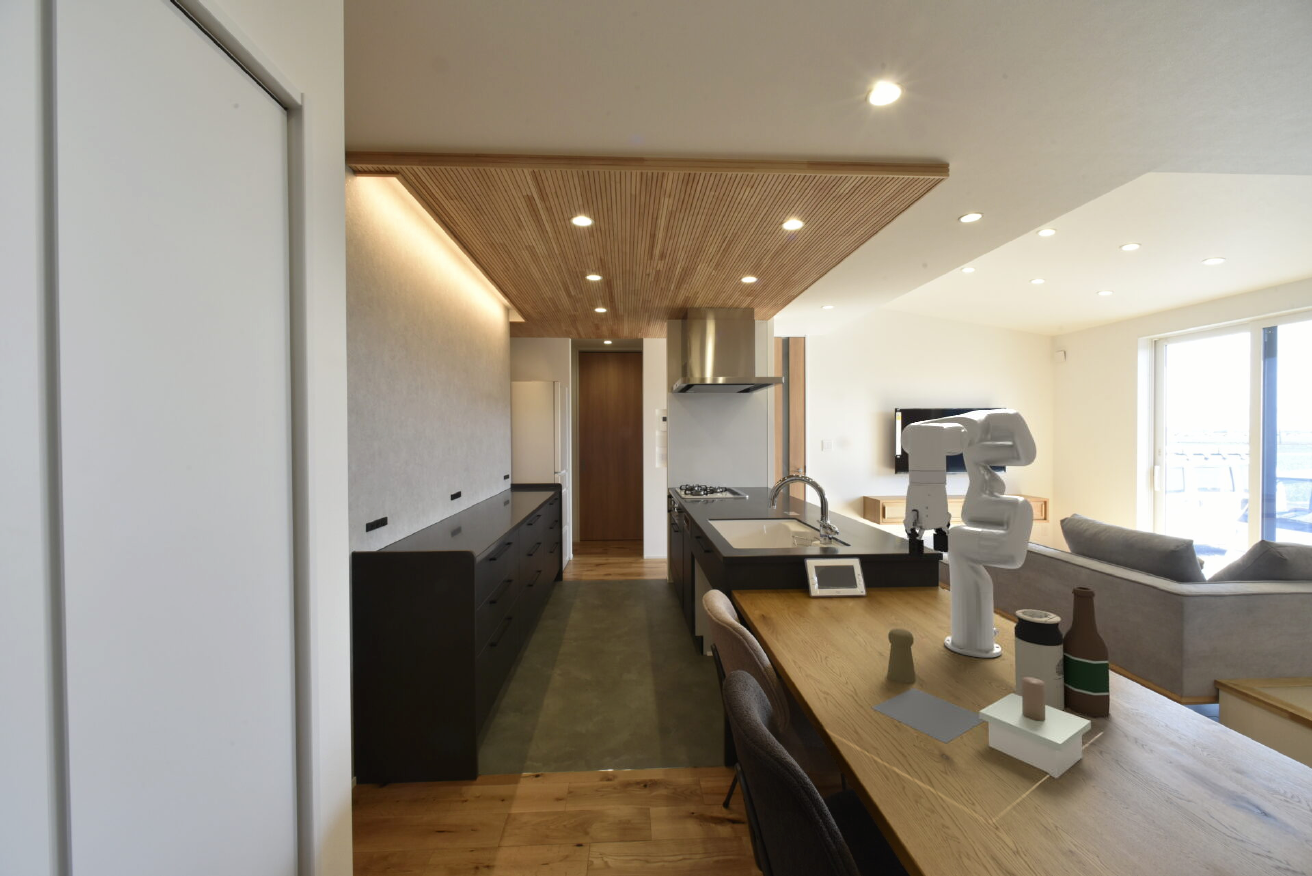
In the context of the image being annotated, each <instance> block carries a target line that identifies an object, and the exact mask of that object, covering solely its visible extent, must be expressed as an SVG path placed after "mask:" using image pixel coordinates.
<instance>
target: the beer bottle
mask: <svg viewBox="0 0 1312 876" xmlns="http://www.w3.org/2000/svg"><path fill="white" fill-rule="evenodd" d="M1071 594H1073V605H1072V606H1073V609H1072V622H1071V626H1070V627H1069V628H1068V629H1066V631H1065V633H1064V635H1063V670H1064V708H1067V709H1069V710H1070V711H1072V712H1073V713H1075V714H1078V715H1082V716H1085V717H1089V718H1093V719H1101V718H1102V719H1104V718H1109V717H1110V708H1111V707H1110V704H1111V703H1110V702H1111V698H1110V697H1111V696H1110V693H1111V692H1110V664H1109V663H1110V659H1109V657H1110V656H1109V647H1108V644H1107V642H1106V640H1105V637H1103V635H1102V633H1101V632H1100V631H1099V629H1098V626H1097V623H1096V621H1097V620H1096V613H1095V611H1096V610H1095V603H1094V597H1096V593H1095V591H1094V589H1093V588H1089V587H1087V586H1074V587H1073V589H1072V591H1071Z"/></svg>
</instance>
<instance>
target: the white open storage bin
mask: <svg viewBox="0 0 1312 876" xmlns="http://www.w3.org/2000/svg"><path fill="white" fill-rule="evenodd" d="M987 722H988V721H987ZM1082 736H1083V735H1082ZM1082 736H1080V737H1079V738H1078V739H1077V740H1075V741H1074V742H1073V743H1071V744H1070V745H1069V746H1067V747H1066V748H1065V749H1064V750H1062V751H1061V752H1060V751H1058V750H1055V749H1053V748H1050V747H1048V746H1046V745H1043V744H1041V743H1038V742H1036V741H1033V740H1031V739H1029V738H1026V737H1024V736H1021V735H1019V734H1017V733H1014V732H1012V731H1009V730H1007V729H1004V728H1002V727H1000V726H997V725H995V724H992V723H990V722H988V746H989V747H991V748H993V749H995V750H997V751H998V752H999V751H1000V752H1002V753H1004V754H1006V755H1009V756H1010V757H1013V758H1014V759H1017V760H1020V761H1021V762H1024V763H1026V764H1028V765H1031V766H1033V767H1035V768H1037V769H1040V770H1041V771H1044V772H1046V773H1047V776H1050V777H1053V778H1054V779H1058V778H1059V777H1061V776H1062V775H1063V774H1064V773H1066V772H1067V771H1068V770H1069V769H1070V768H1071V767H1072V766H1074V765H1075V764H1076V763H1077V762H1079V761H1080V760H1081V759H1083V743H1082V741H1083V739H1082V738H1083V737H1082Z"/></svg>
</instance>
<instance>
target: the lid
mask: <svg viewBox="0 0 1312 876" xmlns="http://www.w3.org/2000/svg"><path fill="white" fill-rule="evenodd" d="M978 714H979V718H980V719H983V720H985V721H986V722H990V723H992V724H995V725H997V726H1000V727H1002V728H1004V729H1007V730H1009V731H1012V732H1014V733H1017V734H1019V735H1021V736H1024V737H1026V738H1029V739H1031V740H1033V741H1036V742H1038V743H1041V744H1043V745H1046V746H1048V747H1050V748H1053V749H1055V750H1058V751H1060V752H1061V751H1062V750H1064V749H1065V748H1066V747H1067V746H1069V745H1070V744H1071V743H1073V742H1074V741H1075V740H1077V739H1078V738H1079V737H1080V736H1083V735H1084V734H1086V733H1087V732H1088V731H1089V730H1091V729H1092V721H1091V720H1090V719H1089V720H1088V719H1086V718H1082V717H1080V716H1077V715H1075V714H1072V713H1070V712H1066V711H1063V710H1058V709H1055V708H1052V707H1050V706H1047V705H1045V683H1044V682H1043V681H1041V680H1039V679H1036V678H1032V677H1023V678H1022V696H1019V695H1016V693H1013V692H1011V693H1009V694H1007V695H1006V696H1004V697H1002V698H1000V699H999V700H997V701H994V702H993V703H992V704H990V705H988V706H986V707H985V708H983V709H981V710H979V712H978ZM985 721H984V722H985Z"/></svg>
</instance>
